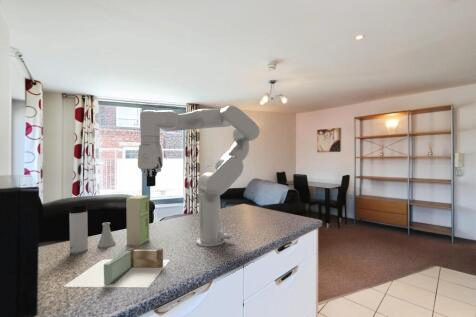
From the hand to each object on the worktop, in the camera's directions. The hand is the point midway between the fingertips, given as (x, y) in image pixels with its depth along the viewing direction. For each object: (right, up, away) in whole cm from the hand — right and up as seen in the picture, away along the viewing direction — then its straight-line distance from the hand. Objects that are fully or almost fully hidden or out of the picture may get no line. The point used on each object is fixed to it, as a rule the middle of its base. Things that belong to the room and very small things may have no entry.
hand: (151, 186), depth 102 cm
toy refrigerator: (-10, -28, +13) cm, 32 cm away
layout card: (-3, -27, -18) cm, 33 cm away
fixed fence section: (+3, -27, -14) cm, 30 cm away
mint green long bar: (-3, -27, -21) cm, 34 cm away
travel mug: (-30, -28, +2) cm, 41 cm away
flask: (-23, -28, +9) cm, 37 cm away
